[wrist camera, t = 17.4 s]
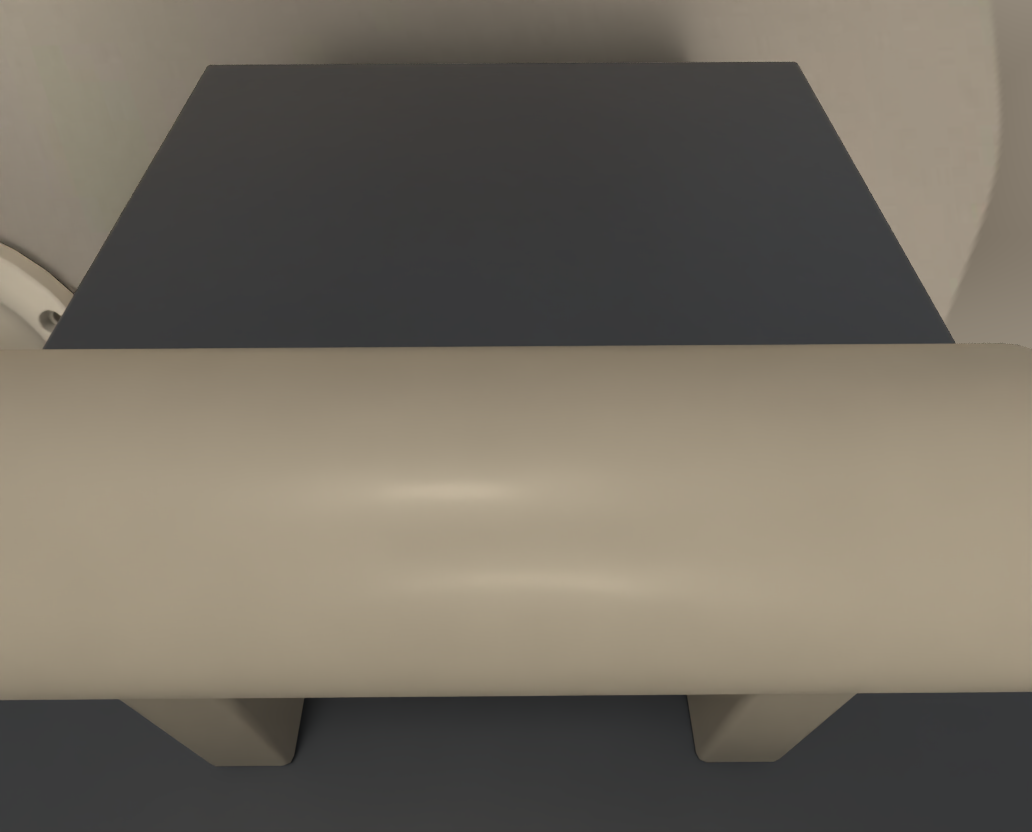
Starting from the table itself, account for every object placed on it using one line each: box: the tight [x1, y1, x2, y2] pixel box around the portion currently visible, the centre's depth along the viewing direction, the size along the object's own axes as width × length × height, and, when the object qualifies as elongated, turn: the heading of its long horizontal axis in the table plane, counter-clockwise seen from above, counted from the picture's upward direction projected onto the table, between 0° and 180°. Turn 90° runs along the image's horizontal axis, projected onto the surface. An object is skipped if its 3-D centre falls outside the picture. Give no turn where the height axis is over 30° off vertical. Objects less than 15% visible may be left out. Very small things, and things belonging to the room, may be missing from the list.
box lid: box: [0, 62, 1032, 832], centre depth 8 cm, size 14×12×5 cm
